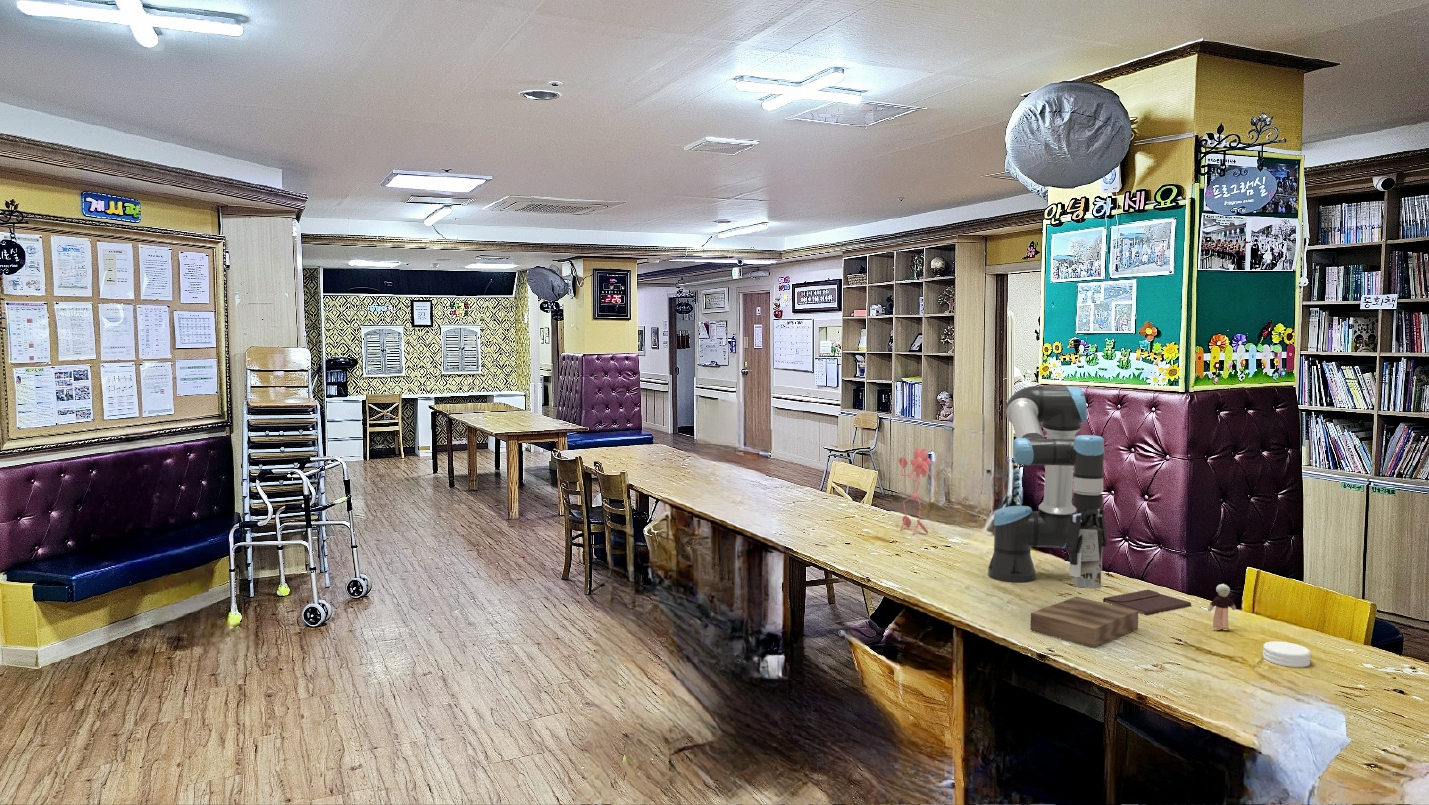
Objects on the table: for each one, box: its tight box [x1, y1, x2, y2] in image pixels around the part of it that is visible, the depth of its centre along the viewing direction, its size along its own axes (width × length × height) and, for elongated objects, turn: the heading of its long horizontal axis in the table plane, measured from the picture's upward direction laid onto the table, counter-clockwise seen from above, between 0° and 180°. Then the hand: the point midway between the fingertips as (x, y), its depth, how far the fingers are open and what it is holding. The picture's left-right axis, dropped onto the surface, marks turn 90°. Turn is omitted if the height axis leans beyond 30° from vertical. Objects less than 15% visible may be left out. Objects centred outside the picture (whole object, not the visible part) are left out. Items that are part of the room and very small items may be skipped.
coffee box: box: [1070, 525, 1103, 590], centre depth 246 cm, size 9×6×16 cm
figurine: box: [898, 446, 938, 536], centre depth 373 cm, size 15×26×35 cm, turn 22°
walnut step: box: [1029, 596, 1139, 649], centre depth 247 cm, size 24×18×5 cm
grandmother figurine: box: [1207, 583, 1237, 631], centre depth 247 cm, size 8×4×13 cm, turn 105°
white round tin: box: [1262, 640, 1312, 668], centre depth 224 cm, size 10×10×4 cm
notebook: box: [1102, 589, 1192, 616], centre depth 271 cm, size 15×20×2 cm
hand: (1085, 572), depth 246 cm, fingers closed on coffee box, 11 cm apart
